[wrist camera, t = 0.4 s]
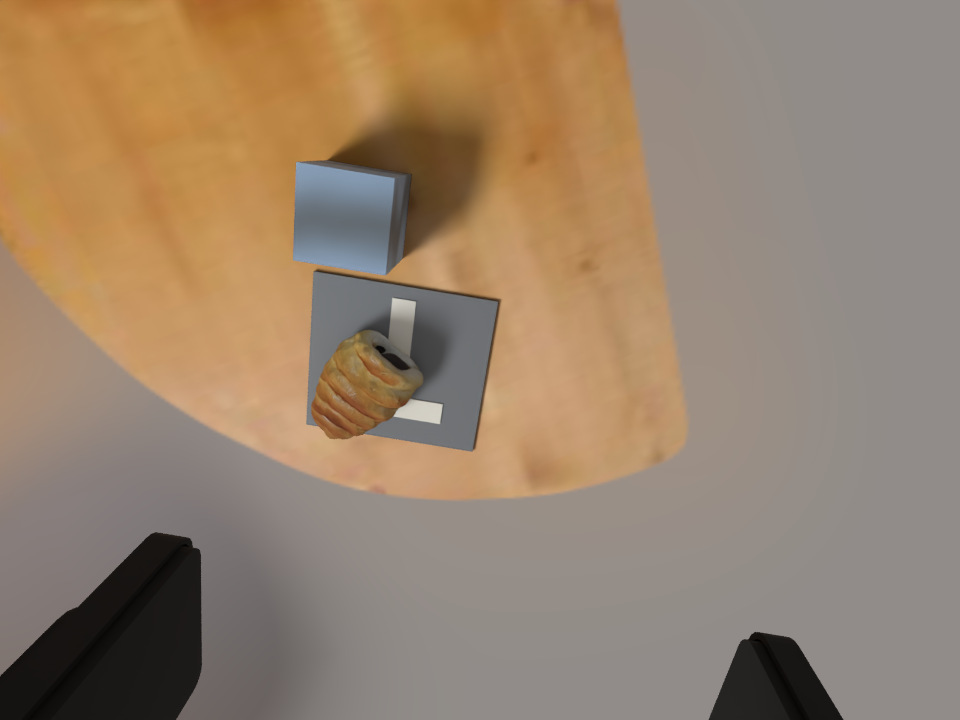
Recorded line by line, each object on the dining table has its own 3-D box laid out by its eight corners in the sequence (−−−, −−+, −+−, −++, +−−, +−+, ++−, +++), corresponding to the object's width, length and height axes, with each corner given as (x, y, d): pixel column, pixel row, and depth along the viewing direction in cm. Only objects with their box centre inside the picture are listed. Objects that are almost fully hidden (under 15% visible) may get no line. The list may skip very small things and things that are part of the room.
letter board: (314, 270, 42) (313, 271, 41) (498, 301, 42) (498, 302, 42) (307, 423, 46) (306, 425, 46) (472, 450, 46) (472, 452, 46)
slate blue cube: (327, 160, 39) (296, 161, 33) (411, 174, 39) (394, 178, 33) (323, 245, 41) (293, 260, 36) (402, 258, 41) (385, 275, 36)
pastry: (361, 447, 47) (348, 471, 43) (296, 397, 45) (277, 417, 42) (432, 370, 44) (424, 389, 40) (364, 314, 42) (350, 329, 39)
